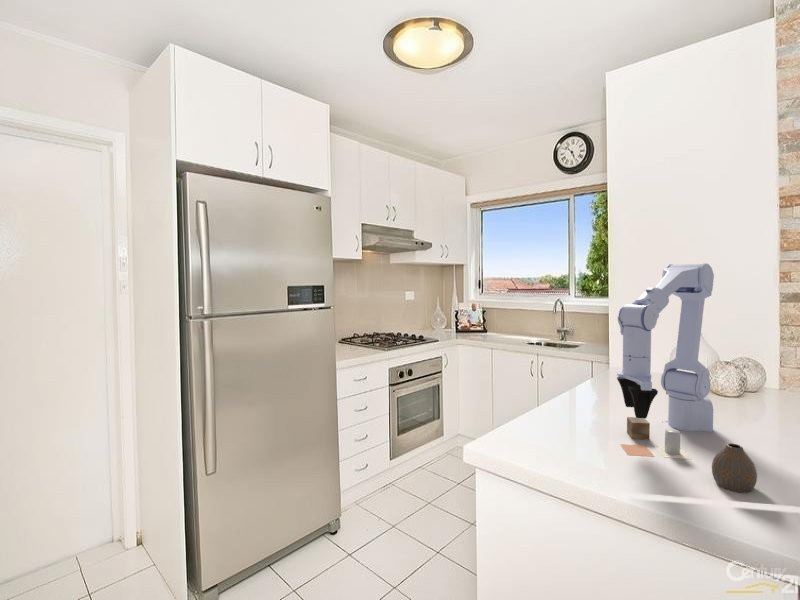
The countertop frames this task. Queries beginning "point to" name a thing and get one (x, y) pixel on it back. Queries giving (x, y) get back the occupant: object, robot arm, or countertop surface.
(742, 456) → the vase
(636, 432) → the walnut block
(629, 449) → the mat
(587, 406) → the countertop surface
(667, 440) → the grey peg
